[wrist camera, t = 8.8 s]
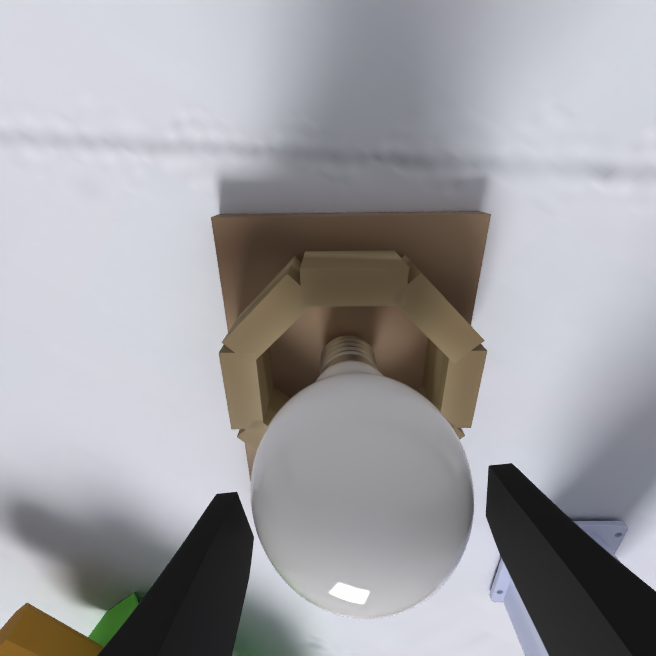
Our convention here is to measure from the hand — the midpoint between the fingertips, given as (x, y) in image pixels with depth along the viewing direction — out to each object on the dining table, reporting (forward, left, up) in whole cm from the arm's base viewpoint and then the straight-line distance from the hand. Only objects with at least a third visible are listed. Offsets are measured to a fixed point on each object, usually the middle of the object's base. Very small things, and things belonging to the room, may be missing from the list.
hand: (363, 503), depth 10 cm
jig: (-3, 0, -10) cm, 10 cm away
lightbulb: (0, 0, -9) cm, 9 cm away
